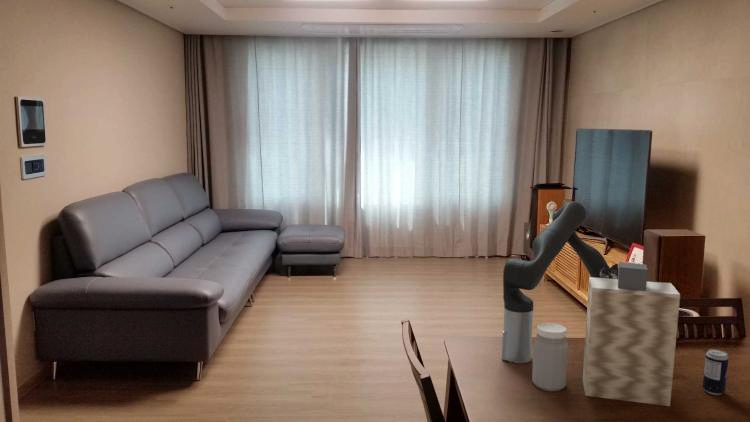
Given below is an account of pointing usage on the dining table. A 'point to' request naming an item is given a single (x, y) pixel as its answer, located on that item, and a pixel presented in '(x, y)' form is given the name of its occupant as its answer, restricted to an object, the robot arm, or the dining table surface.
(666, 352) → the beige zigzag box
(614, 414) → the dining table surface
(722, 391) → the beverage can
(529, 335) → the robot arm
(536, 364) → the jar
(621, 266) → the salmon and grey blocks
